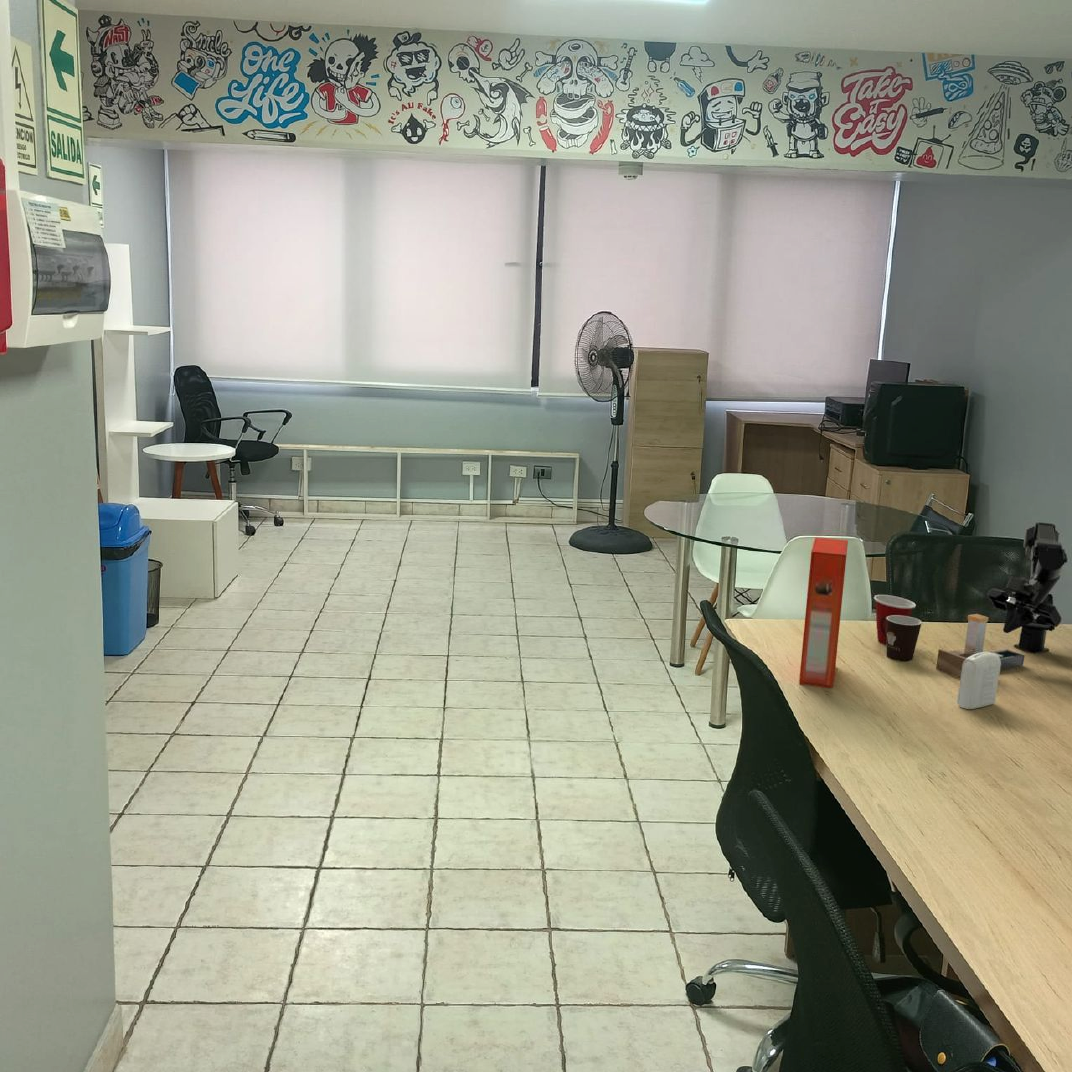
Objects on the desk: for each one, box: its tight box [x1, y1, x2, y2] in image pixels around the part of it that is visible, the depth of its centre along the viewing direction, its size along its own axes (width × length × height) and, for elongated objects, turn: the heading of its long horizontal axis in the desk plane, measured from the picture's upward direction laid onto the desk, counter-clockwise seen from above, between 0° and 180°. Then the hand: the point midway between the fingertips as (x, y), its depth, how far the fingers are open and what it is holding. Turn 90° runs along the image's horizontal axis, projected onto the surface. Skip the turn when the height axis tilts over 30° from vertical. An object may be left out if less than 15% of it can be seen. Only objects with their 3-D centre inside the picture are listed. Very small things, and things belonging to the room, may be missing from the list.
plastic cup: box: [873, 594, 917, 646], centre depth 292 cm, size 11×11×12 cm
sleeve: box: [990, 649, 1025, 671], centre depth 278 cm, size 12×5×3 cm, turn 120°
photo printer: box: [956, 651, 1001, 710], centre depth 247 cm, size 10×4×12 cm, turn 123°
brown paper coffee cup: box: [880, 615, 923, 663], centre depth 281 cm, size 12×9×10 cm
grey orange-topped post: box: [963, 613, 1004, 658], centre depth 273 cm, size 13×3×13 cm, turn 120°
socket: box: [935, 648, 967, 679], centre depth 271 cm, size 9×9×5 cm
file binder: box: [798, 537, 849, 689], centre depth 261 cm, size 8×17×32 cm, turn 163°
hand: (1004, 631), depth 276 cm, fingers closed
